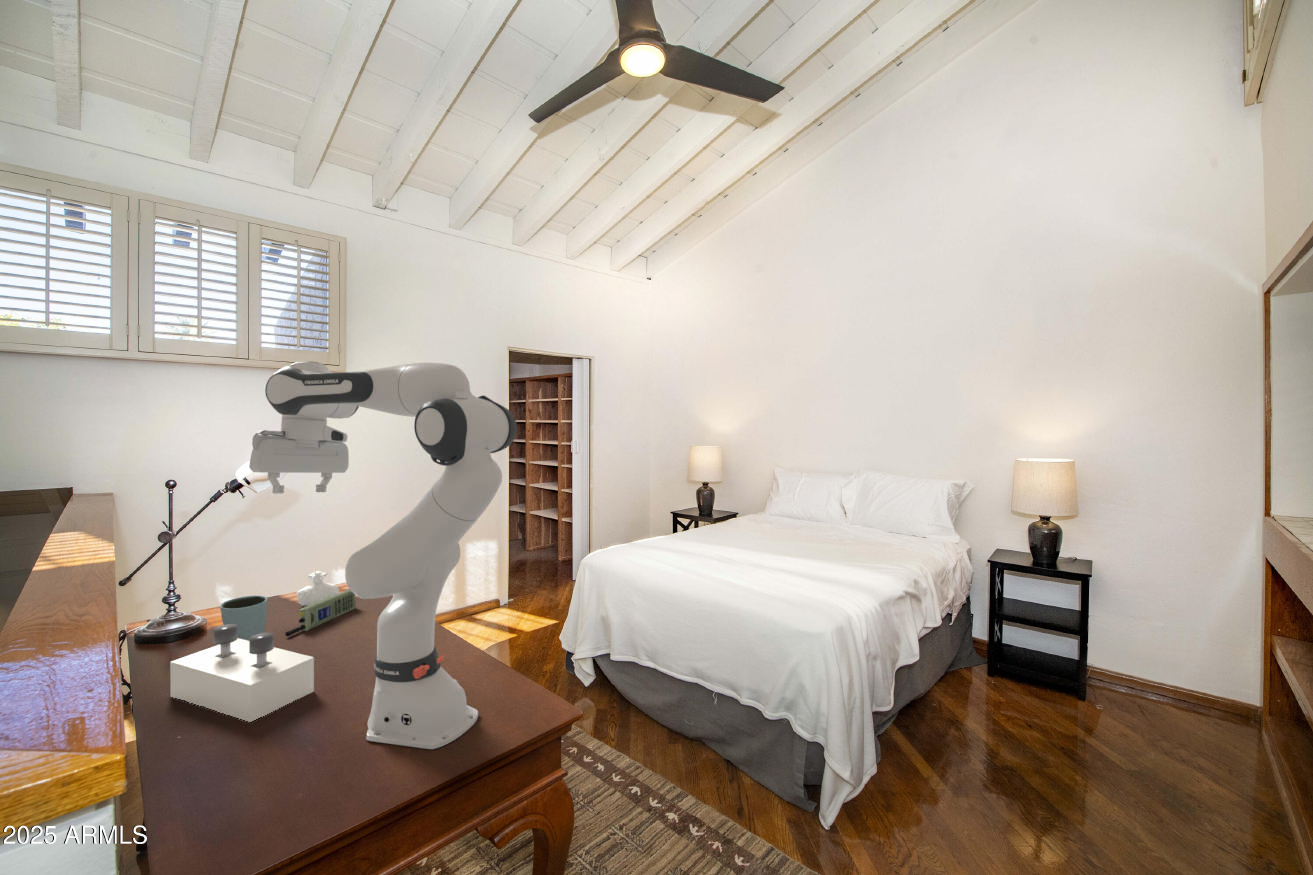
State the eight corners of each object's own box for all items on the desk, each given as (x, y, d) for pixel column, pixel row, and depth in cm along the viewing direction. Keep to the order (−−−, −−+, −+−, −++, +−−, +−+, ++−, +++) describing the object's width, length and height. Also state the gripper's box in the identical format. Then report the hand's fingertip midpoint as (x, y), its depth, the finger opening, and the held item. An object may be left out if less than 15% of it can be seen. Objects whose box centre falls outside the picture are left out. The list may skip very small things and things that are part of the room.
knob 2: (278, 664, 123) (278, 634, 122) (258, 672, 118) (258, 641, 118) (264, 660, 124) (264, 631, 124) (244, 668, 120) (244, 638, 120)
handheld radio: (357, 608, 178) (292, 639, 153) (348, 608, 178) (282, 638, 154) (357, 588, 178) (291, 615, 153) (348, 588, 178) (281, 615, 154)
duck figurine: (338, 605, 186) (335, 574, 191) (341, 597, 181) (338, 565, 186) (296, 612, 178) (294, 580, 183) (298, 604, 173) (296, 570, 178)
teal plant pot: (276, 638, 153) (276, 596, 152) (245, 654, 143) (245, 609, 142) (243, 636, 154) (242, 594, 154) (210, 651, 144) (210, 606, 143)
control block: (313, 691, 126) (313, 657, 125) (250, 722, 113) (250, 684, 112) (237, 669, 135) (237, 637, 134) (170, 696, 122) (170, 661, 121)
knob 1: (242, 654, 127) (242, 625, 126) (221, 662, 123) (221, 632, 122) (229, 651, 128) (229, 622, 128) (208, 658, 124) (208, 629, 124)
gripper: (261, 429, 115) (257, 494, 115) (354, 435, 133) (350, 492, 133) (245, 429, 118) (241, 493, 118) (338, 435, 136) (335, 490, 136)
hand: (300, 492), depth 125 cm, fingers open, 8 cm apart
